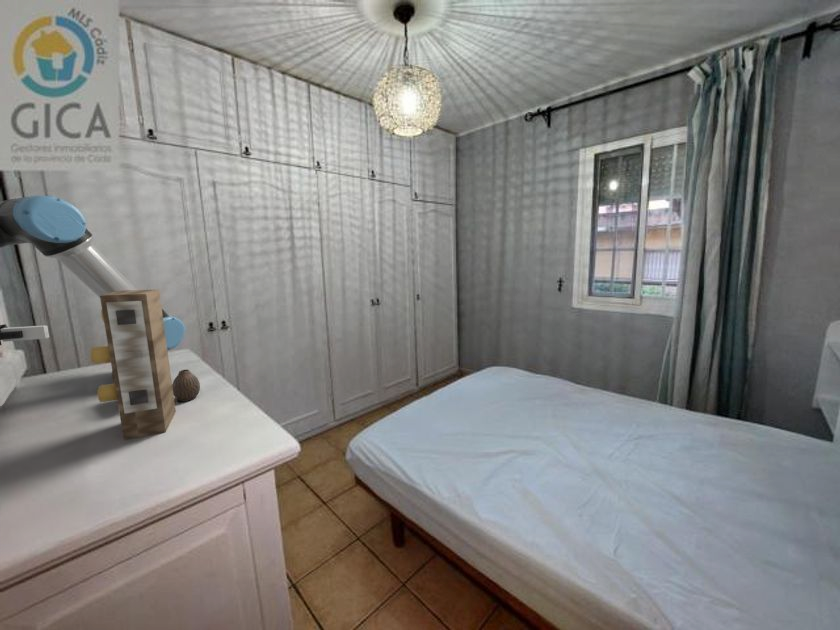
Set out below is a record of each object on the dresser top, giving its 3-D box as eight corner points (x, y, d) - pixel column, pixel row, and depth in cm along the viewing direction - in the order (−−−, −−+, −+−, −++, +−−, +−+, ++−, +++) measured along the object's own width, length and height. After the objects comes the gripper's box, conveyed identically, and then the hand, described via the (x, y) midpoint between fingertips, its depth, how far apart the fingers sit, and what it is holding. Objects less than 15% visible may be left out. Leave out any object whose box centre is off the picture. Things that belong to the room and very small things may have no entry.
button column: (122, 441, 77) (98, 296, 72) (139, 417, 89) (119, 290, 83) (165, 433, 81) (145, 294, 75) (175, 411, 92) (159, 289, 86)
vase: (187, 404, 97) (183, 375, 95) (167, 402, 98) (163, 373, 97) (206, 394, 104) (203, 367, 102) (188, 392, 105) (184, 366, 103)
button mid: (92, 366, 77) (89, 349, 76) (99, 361, 80) (96, 345, 79) (114, 363, 78) (112, 347, 78) (120, 359, 82) (118, 343, 81)
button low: (99, 404, 78) (96, 388, 77) (105, 398, 82) (103, 383, 81) (121, 401, 80) (118, 385, 79) (126, 395, 83) (124, 380, 83)
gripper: (-91, 353, 69) (64, 342, 80) (-159, 372, 58) (32, 355, 68) (-100, 318, 68) (58, 311, 79) (-171, 330, 57) (25, 319, 67)
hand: (46, 331), depth 73 cm, fingers closed
